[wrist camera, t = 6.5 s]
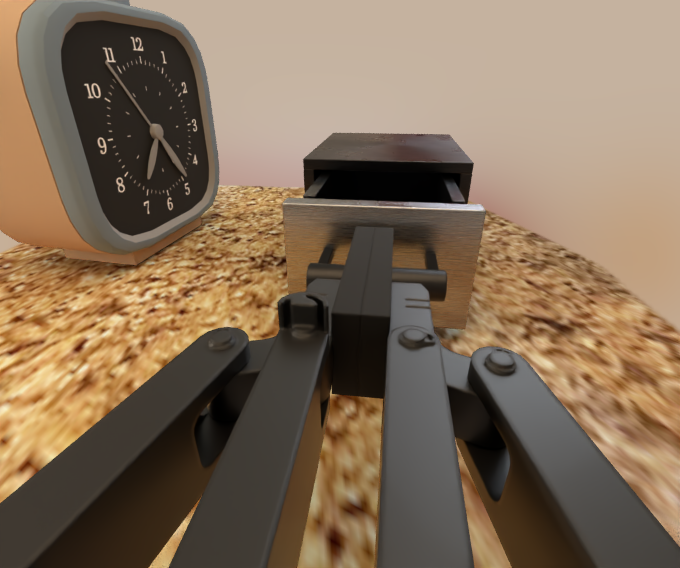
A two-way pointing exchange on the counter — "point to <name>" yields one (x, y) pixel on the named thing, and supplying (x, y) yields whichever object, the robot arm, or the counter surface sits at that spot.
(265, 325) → the counter surface
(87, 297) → the counter surface
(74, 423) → the counter surface
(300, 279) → the drawer
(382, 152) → the cabinet
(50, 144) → the alarm clock
